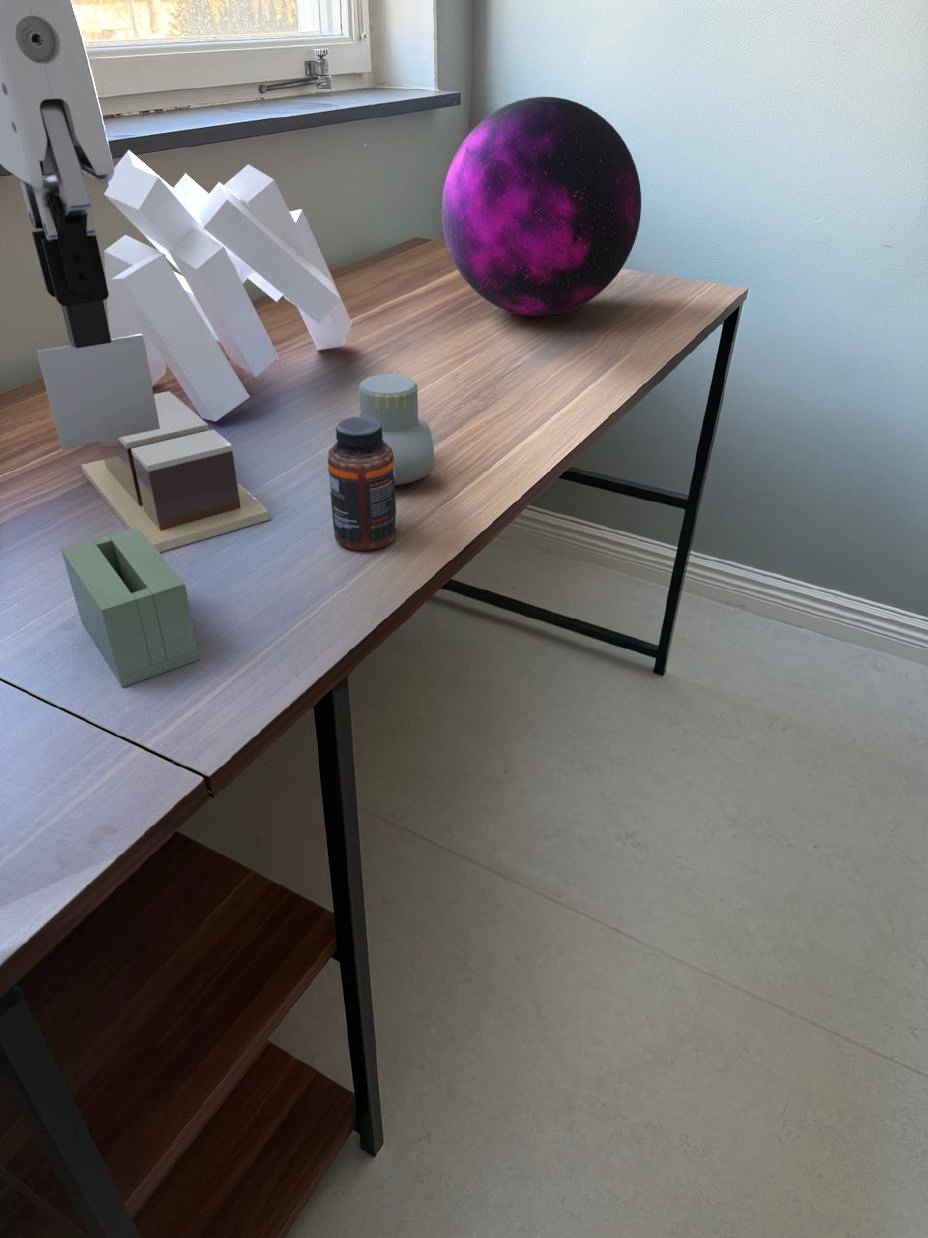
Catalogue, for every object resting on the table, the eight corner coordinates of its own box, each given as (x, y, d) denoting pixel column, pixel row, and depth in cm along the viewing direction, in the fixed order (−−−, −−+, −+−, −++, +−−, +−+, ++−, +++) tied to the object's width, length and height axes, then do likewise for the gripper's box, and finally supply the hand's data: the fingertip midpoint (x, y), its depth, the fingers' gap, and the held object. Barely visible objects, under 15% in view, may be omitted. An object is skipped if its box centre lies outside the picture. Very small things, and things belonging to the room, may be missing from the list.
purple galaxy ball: (420, 331, 133) (418, 102, 116) (463, 280, 157) (467, 83, 140) (619, 350, 128) (649, 113, 111) (633, 294, 152) (659, 92, 135)
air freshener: (436, 495, 91) (437, 401, 85) (356, 500, 90) (350, 406, 84) (422, 450, 100) (421, 362, 94) (348, 454, 98) (343, 366, 92)
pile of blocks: (236, 358, 138) (76, 139, 114) (404, 297, 126) (266, 39, 102) (163, 516, 116) (-53, 287, 92) (357, 460, 105) (168, 182, 81)
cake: (148, 555, 80) (132, 480, 76) (82, 473, 93) (65, 404, 89) (270, 519, 86) (261, 447, 82) (192, 446, 99) (180, 381, 95)
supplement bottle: (406, 528, 85) (404, 416, 79) (382, 558, 81) (377, 443, 74) (350, 517, 87) (343, 407, 80) (322, 546, 82) (312, 432, 75)
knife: (155, 424, 66) (121, 240, 59) (163, 431, 65) (129, 245, 58) (58, 444, 63) (9, 253, 56) (64, 452, 62) (15, 258, 55)
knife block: (200, 659, 68) (185, 583, 64) (122, 688, 65) (101, 610, 61) (154, 598, 75) (138, 526, 71) (81, 622, 72) (60, 548, 68)
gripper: (111, -52, 44) (176, 319, 55) (32, -50, 54) (100, 262, 65) (-54, -56, 41) (51, 341, 52) (-105, -53, 51) (-8, 277, 62)
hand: (78, 295), depth 58 cm, fingers closed on knife, 1 cm apart
